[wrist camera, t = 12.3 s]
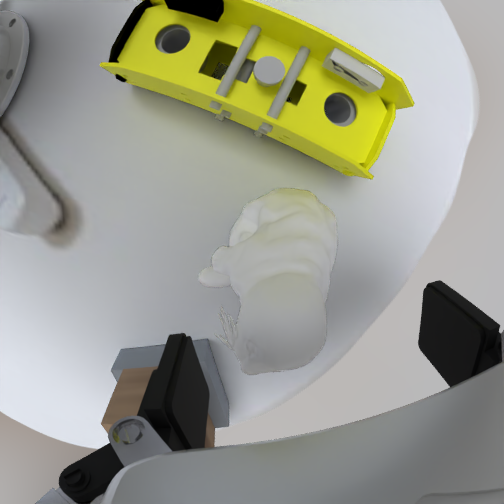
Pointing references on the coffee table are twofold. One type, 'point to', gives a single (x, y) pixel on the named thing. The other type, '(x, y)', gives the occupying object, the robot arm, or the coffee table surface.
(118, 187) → the coffee table surface
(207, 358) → the plinth
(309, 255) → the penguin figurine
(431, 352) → the robot arm
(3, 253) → the coffee table surface
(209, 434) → the walnut brick
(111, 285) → the coffee table surface
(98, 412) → the coffee table surface
